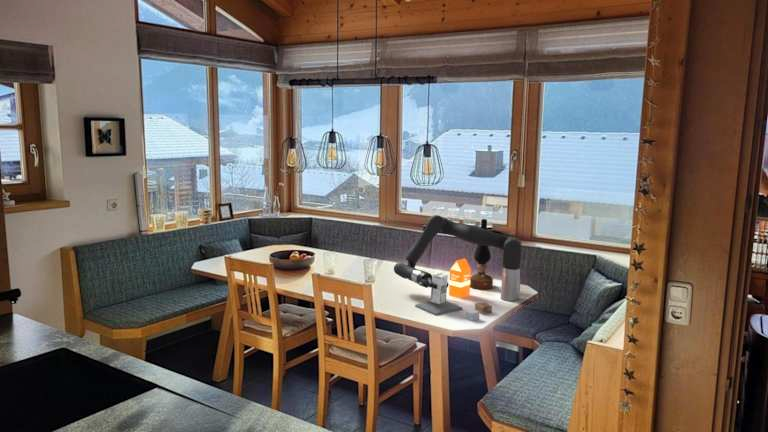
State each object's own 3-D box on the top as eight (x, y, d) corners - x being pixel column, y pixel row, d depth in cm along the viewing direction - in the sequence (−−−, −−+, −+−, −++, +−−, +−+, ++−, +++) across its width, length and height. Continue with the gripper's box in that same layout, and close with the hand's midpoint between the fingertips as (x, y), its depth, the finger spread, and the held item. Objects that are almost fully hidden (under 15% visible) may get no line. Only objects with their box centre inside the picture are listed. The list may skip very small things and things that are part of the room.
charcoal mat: (441, 300, 313) (442, 299, 313) (462, 309, 301) (462, 307, 300) (415, 306, 303) (415, 304, 303) (435, 315, 290) (435, 313, 290)
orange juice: (448, 295, 324) (450, 259, 320) (458, 291, 330) (459, 256, 327) (460, 298, 319) (462, 262, 315) (469, 295, 325) (471, 259, 322)
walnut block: (484, 309, 301) (485, 302, 301) (491, 313, 296) (492, 305, 295) (474, 311, 299) (475, 303, 298) (481, 314, 294) (482, 307, 293)
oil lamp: (467, 288, 349) (457, 221, 347) (493, 284, 349) (482, 217, 347) (471, 293, 335) (460, 223, 333) (498, 288, 335) (487, 218, 333)
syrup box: (436, 299, 306) (438, 272, 303) (446, 301, 302) (447, 274, 299) (430, 301, 301) (431, 274, 299) (440, 304, 298) (441, 276, 295)
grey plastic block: (471, 316, 290) (471, 308, 290) (479, 319, 286) (479, 311, 286) (464, 318, 287) (464, 310, 287) (471, 321, 283) (472, 313, 283)
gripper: (411, 272, 307) (431, 280, 293) (432, 269, 315) (453, 276, 302) (410, 286, 308) (430, 295, 295) (431, 282, 316) (452, 291, 303)
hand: (442, 286), depth 298 cm, fingers closed on syrup box, 7 cm apart
